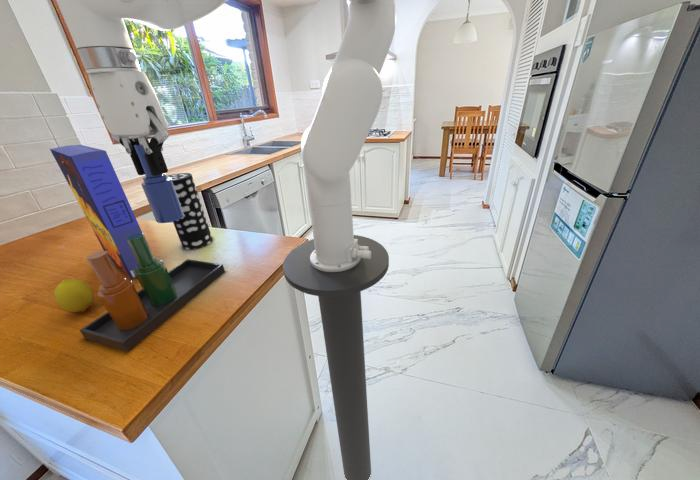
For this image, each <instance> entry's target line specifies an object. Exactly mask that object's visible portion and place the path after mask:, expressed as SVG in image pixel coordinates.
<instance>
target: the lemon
mask: <svg viewBox="0 0 700 480" xmlns="http://www.w3.org/2000/svg"><path fill="white" fill-rule="evenodd" d="M53 295H54V300H55V302H56V304H57V305H58V306H59V307H60V308H61V309H62V310H64V311H66V312H70V313H78V312H86V311H87V309H88V308H89V307H90V306H91V305H92V303H93V302H94V298H95V297H94V296H95V295H94V292H93V290H92V288H91V286H89V284H88V283H86V282H85V281H83V280H81V279H77V278H70V279H67V278H66V279H63V280H62V281H61V282H60V283H58V285H56V287H55V288H54V292H53Z"/></svg>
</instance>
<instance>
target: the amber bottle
mask: <svg viewBox="0 0 700 480" xmlns="http://www.w3.org/2000/svg"><path fill="white" fill-rule="evenodd" d="M86 260H87V261H88V263H89V265H90V267H91V269H92V270H93V272H94V273H95V276H96V277H97V279H98V281H99V282H100V285H99V287H98V289H99V290H98V291H97V296H98V298H99V300H100V302H101V303H102V305H103V306H104V308H105V310H106V312H108V313H109V315H110V317H111V318H112V320H113V322H114V323H115V325H116V327H117V328H118V329H119V330H123V331H124V330H130V329H133V328H135V327H137V326H139V325H141V324H142V323H144V322H145V321H146V320H147V318H148V316H149V314H148V312H147V310H146V308H145V306H144V304H143V302H142V300H141V298H140V296H139V295H138V293H137V292H138V291H137V289H136V287H135V285H134V283H133V281H132V279H131V280H130V279H127V278H126V277H124V276H121V275H120V273H119V272H118V270H117V267H116V266H115V263H114V262H113V261H112V260H111V258H110V256H109V255H108V253H107V251H104V250H99V251H95V252H93V253H90V254H88V256H86Z"/></svg>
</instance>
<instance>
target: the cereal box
mask: <svg viewBox="0 0 700 480" xmlns="http://www.w3.org/2000/svg"><path fill="white" fill-rule="evenodd" d="M49 150H50V153H51V155H52V156H53V158H54V160H55V163H57V165H58V167H59V169H60V171H61V173H62V175H63V177H64V178H65V180H66V182H67V184H68V186H69V188H70V190H71V192H72V194H73V195H74V197H75V199H76V201H77V203H78V205H79V206H80V208H81V210H82V212H83V214H84V216H85V218H86V220H87V222H88V224H89V225H90V227H91V229H92V231H93V234H94V235H95V237H96V239H97V240H98V242H99V244H100V246H101V248H102V251H107V253H108V255H109V256H110V258H111V260H112V262H113V264H114V265H116V266H117V267H118V268H119V269H120V270H122V272H124V274H126V275H127V276H128V277H129V278H130V279H131V280H135V279H137V277H136V275H135V272H134V271H135V269H136V265H137V264H138V262H137V260H136V258H135V256H134V253H133V251H132V249H131V247H130V245H129V243H128V241H127V237H128V236H130V235H133V234H137V233H143V230H142V228H141V226H140V224H139V222H138V220H137V217H136V215H135V213H134V210H133V209H132V205H131V204H130V201H129V200H128V198H127V195H126V193H125V191H124V188H123V185H122V183H121V181H120V180H119V177H118V175H117V172H116V170H115V168H114V166H113V163H112V161H111V159H110V156H109V155H108V152H107V150H106V149H105V150H104V149H100V148H97V147H91V146H88V145H83V144H70V145H63V146H58V147H53V148H49Z"/></svg>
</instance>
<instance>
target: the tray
mask: <svg viewBox="0 0 700 480" xmlns="http://www.w3.org/2000/svg"><path fill="white" fill-rule="evenodd" d="M168 273H169V275H170V278H171V280H172V282H173V285H174V287H175V289H176V292H177V296H176V297H175V299H173V300H172V301H171V302H169V303H167V304H164V305H161V306H152V305H151V304H150V303H149V301H148V299H147V297H146V295H145V293H144V291H143V289H142V288H141V289H140V290H138V291H137V293H138V295H139V296H140V298H141V300H142V302H143V304H144V306H145V308H146V310H147V312H148V314H149V316H148V318H147V320H146V321H145V322H144V323H142V324H141V325H139V326H137V327H135V328H133V329H130V330H124V331H123V330H119V329H118V328H117V327H116V325H115V323H114V322H113V320H112V318H111V317H110V315H109V313H108V312H107V311H106V312H105V313H103V314H102V315H100V316H99V317H97V318H96V319H94V320H93V321H91V322H90V323H88V324H86V325H85V326H84V327H82V328H80V329H79V332H80V333H81V335H82V336H83V338H84V339H85V340H87V341H90V342H92V343H93V342H94V343H97V344H99V345H104V346H106V347H111V348H113V349H117V350H120V351H123V352H127V353H129V352H130V351H131V350H132V349H134V348H135V347H136V346H137V345H139V344H140V343H141V342H143V340H145V339H146V338H147V337H148V336H150V334H152V333H153V332H154V331H156V330H157V329H158V328H159V327H160V326H161V325H163V324H164V323H165V322H167V321H168V320H169V319H170V318H171V317H172V316H174V315H175V314H177V312H179V311H180V310H181V309H182V308H183V307H185V306H186V305H187V304H188V303H189V302H191V301H192V300H193V299H194V298H196V297H197V296H198V295H199V294H200V293H202V292H203V291H204V290H205V289H206V288H208V287H209V286H210V285H211V284H213V283H214V282H216V280H218V279H219V278H221V276H223V275H224V274H225V273H226V270H225V267H224V264H222V263H217V262H208V261H203V260H202V261H201V260H196V259H189V258H188V259H185V260H184V261H182V262H180V263H179V264H178V265H176V266H174V267H173V268H172V269H170V270H169V271H168Z"/></svg>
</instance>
